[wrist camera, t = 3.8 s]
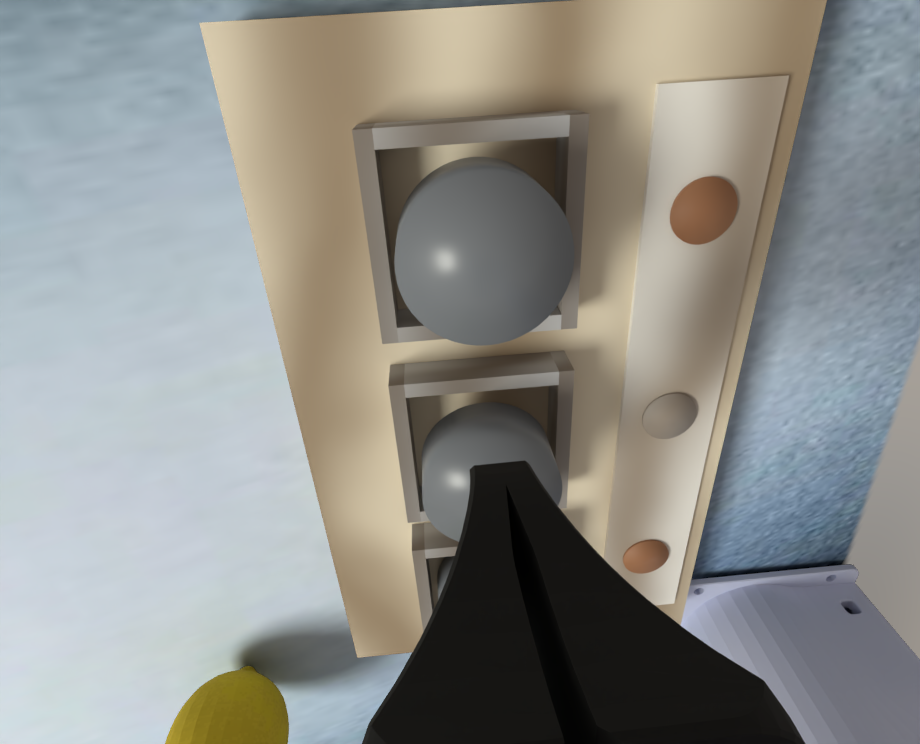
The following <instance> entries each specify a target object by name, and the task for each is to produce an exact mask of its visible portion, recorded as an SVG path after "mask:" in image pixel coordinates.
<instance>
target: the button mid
mask: <svg viewBox="0 0 920 744" xmlns="http://www.w3.org/2000/svg"><path fill="white" fill-rule="evenodd" d="M524 460H525V461H526V462H528V463H529V464H530V466H531V467H532V469H533V471H534V472H535V474H536V476H537V477H538V479H539V480H540V482H541V483H542V485H543V486H544V488H545V489H546V491H547V492H548V493H549V495H550V496H551V498H552V499H553V500H554V502H555V503H556V504H557V506H558V505H559V503H560V500H561V496H562V480H561V475H560V472H559V470H558V467H557V464H556V461H555V458H554V455H553V453H552V450H551V447H550V444H549V441H548V438H547V436H546V433H545V431H544V429H543V428H542V426H541V424H540V423H539V422H538V421H537V420H536V419H535V418H534V417H533V416H532V415H530V414H529V413H527V412H526V411H524V410H522V409H520V408H518V407H515V406H512V405H509V404H504V403H496V402H483V403H476V404H472V405H468V406H465V407H462V408H459V409H457V410H455V411H453V412H451V413H449V414H448V415H446V416H445V417H443V418H442V419H441V420H440V421H439V422H438V423H437V424H436V425H435V426H434V427H433V428H432V429H431V431H430V432H429V434H428V436H427V438H426V440H425V442H424V445H423V449H422V499H423V507H424V510H425V513H426V515H427V517H428V519H429V521H430V522H431V523H432V524H433V526H434V527H435V528H436V529H437V530H439V531H440V532H441V533H442V534H444V535H445V536H447V537H449V538H451V539H453V540H456V541H458V542H459V540H460V537H461V533H462V529H463V524H464V520H465V516H466V511H467V506H468V500H469V492H470V469H471V468H472V467H473V466H474V465H484V464H494V463H504V462H514V461H524Z"/></svg>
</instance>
